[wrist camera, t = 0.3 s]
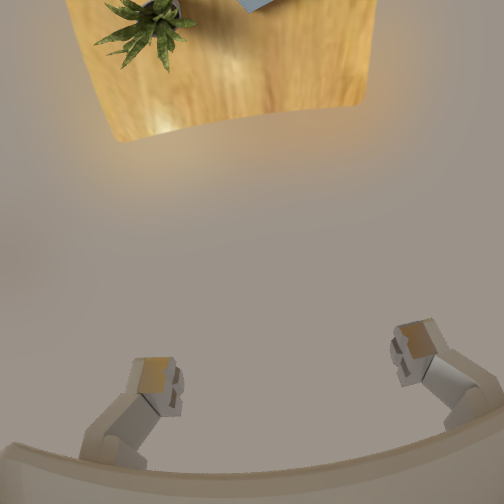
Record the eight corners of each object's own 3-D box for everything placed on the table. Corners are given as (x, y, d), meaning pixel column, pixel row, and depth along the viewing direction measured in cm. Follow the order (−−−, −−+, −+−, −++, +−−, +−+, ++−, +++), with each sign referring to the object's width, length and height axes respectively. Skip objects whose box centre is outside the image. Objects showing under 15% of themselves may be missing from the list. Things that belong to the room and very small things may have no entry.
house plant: (133, -38, 29) (95, -22, 21) (216, -27, 34) (210, -11, 25) (118, 33, 41) (85, 73, 33) (193, 42, 45) (181, 84, 37)
